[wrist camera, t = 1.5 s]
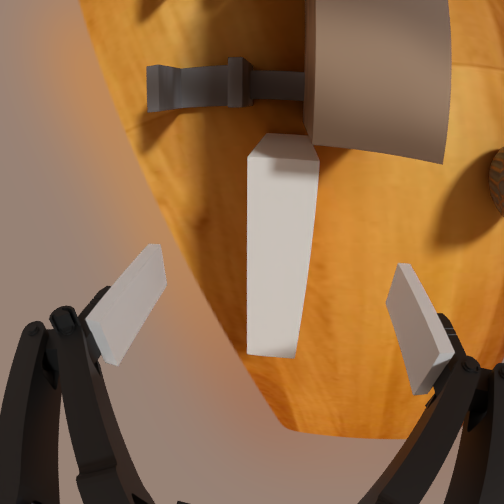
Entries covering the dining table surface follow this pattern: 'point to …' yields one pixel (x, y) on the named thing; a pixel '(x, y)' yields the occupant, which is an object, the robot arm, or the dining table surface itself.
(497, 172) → the vase
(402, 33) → the cabinet
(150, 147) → the dining table surface
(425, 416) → the robot arm
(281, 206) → the door
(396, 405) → the dining table surface
